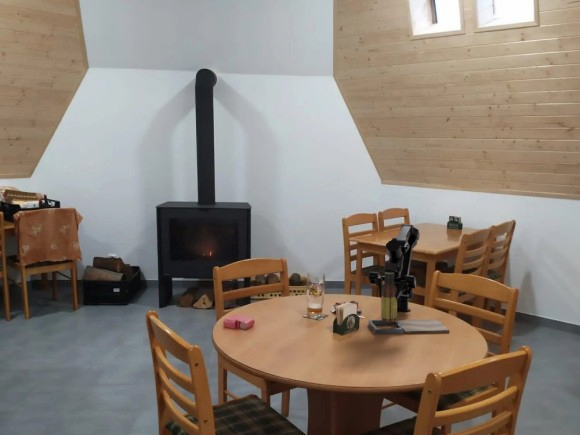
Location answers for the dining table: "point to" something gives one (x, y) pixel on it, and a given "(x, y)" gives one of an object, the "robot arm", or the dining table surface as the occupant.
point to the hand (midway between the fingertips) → (388, 298)
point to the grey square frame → (388, 330)
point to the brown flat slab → (423, 326)
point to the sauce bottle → (389, 298)
